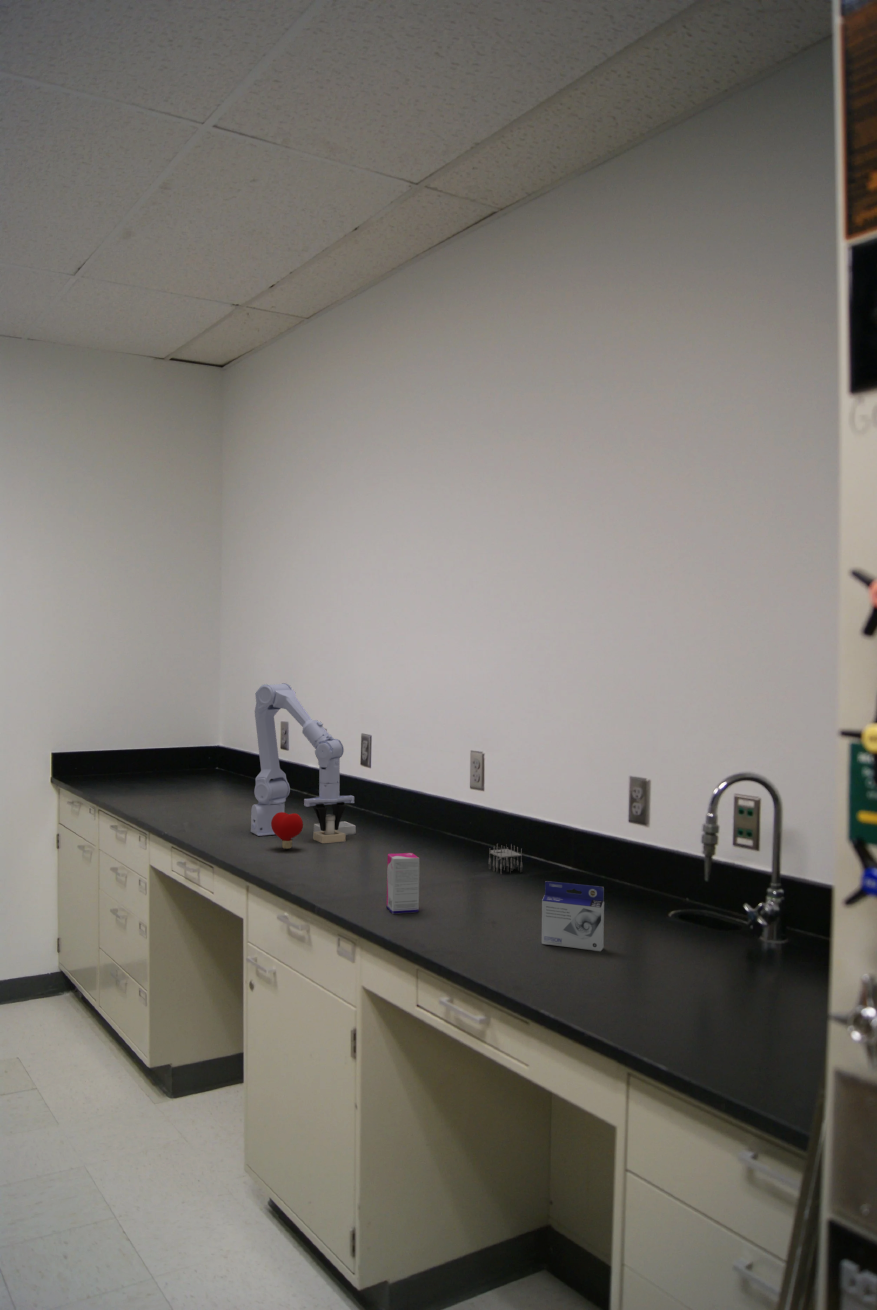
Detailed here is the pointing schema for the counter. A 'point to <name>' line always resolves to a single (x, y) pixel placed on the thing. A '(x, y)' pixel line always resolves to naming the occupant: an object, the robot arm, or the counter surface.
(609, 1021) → the counter surface
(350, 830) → the tray
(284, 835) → the red heart figure
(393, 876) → the supplement box
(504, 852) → the building frame
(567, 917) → the ink box
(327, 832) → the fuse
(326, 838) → the socket block
